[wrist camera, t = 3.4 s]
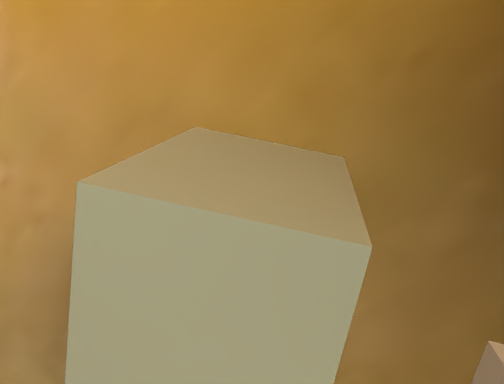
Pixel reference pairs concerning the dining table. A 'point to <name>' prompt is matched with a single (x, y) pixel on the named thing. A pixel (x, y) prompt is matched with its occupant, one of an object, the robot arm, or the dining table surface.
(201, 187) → the sage block
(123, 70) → the dining table surface
